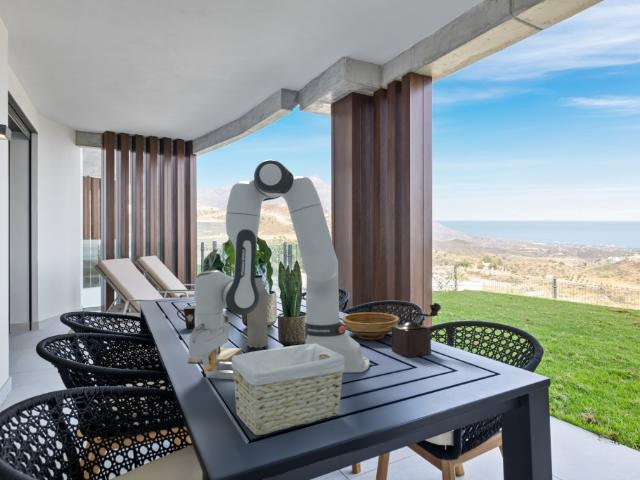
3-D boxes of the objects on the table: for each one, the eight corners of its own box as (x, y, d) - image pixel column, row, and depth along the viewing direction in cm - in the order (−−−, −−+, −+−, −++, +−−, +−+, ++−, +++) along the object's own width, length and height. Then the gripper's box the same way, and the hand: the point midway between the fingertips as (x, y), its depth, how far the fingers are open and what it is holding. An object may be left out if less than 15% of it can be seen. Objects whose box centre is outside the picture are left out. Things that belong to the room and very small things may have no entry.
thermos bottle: (265, 341, 170) (263, 273, 170) (270, 346, 163) (268, 275, 163) (245, 343, 167) (244, 274, 167) (250, 348, 160) (248, 276, 160)
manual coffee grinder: (410, 358, 143) (409, 307, 143) (390, 351, 153) (390, 302, 153) (444, 352, 150) (443, 303, 150) (423, 345, 160) (422, 299, 160)
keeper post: (242, 352, 155) (241, 325, 155) (225, 363, 141) (225, 334, 141) (207, 350, 158) (207, 324, 158) (188, 361, 144) (187, 333, 144)
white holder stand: (248, 369, 135) (248, 350, 135) (236, 379, 125) (235, 359, 125) (213, 367, 138) (213, 349, 138) (198, 377, 128) (198, 358, 128)
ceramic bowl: (326, 334, 181) (326, 316, 181) (367, 326, 196) (366, 309, 195) (375, 348, 157) (374, 327, 157) (416, 338, 172) (416, 318, 172)
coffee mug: (206, 326, 200) (206, 306, 200) (192, 330, 193) (191, 309, 193) (190, 324, 207) (189, 304, 207) (175, 328, 199) (175, 307, 199)
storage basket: (315, 394, 113) (314, 340, 113) (348, 416, 99) (347, 355, 98) (229, 414, 101) (228, 354, 101) (253, 443, 87) (252, 373, 87)
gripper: (202, 328, 122) (203, 375, 122) (231, 315, 142) (232, 355, 142) (182, 328, 123) (183, 374, 123) (214, 314, 143) (215, 354, 143)
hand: (210, 364), depth 133 cm, fingers closed on white holder stand, 3 cm apart
